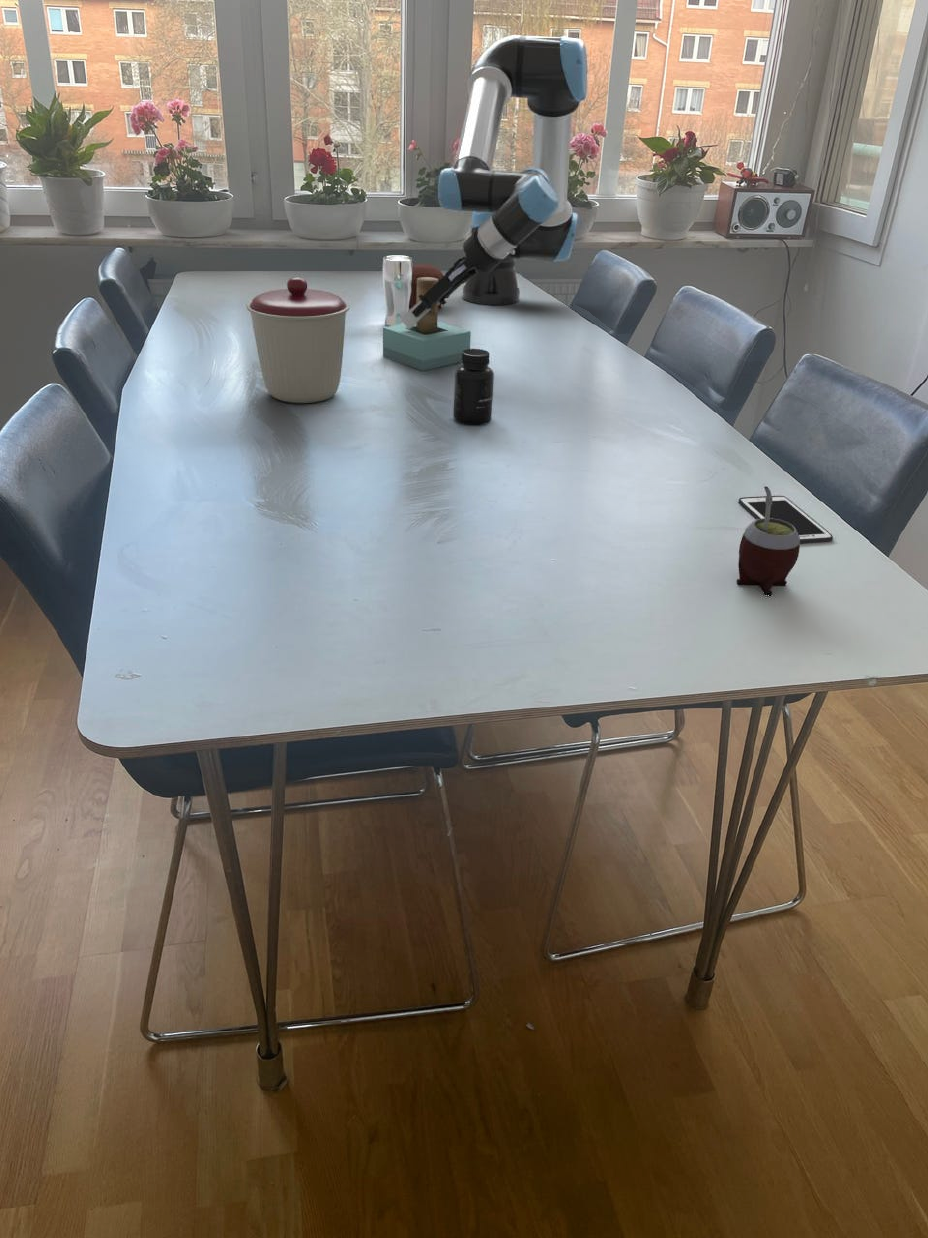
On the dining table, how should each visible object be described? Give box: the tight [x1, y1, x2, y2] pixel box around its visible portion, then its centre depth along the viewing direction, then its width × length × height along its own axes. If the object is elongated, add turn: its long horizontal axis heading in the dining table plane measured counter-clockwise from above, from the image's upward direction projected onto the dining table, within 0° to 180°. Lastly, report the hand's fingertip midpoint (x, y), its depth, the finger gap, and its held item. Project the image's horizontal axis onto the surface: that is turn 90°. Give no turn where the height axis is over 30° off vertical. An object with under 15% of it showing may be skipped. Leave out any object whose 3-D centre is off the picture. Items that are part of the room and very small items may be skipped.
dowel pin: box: [416, 277, 439, 335], centre depth 195 cm, size 4×4×12 cm
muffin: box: [409, 263, 445, 310], centre depth 237 cm, size 12×11×10 cm
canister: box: [245, 276, 350, 404], centre depth 170 cm, size 18×18×21 cm
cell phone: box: [737, 495, 834, 545], centre depth 136 cm, size 8×15×1 cm, turn 12°
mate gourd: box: [736, 485, 801, 597], centre depth 115 cm, size 8×8×15 cm
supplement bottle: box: [452, 348, 495, 426], centre depth 165 cm, size 7×7×12 cm
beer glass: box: [381, 254, 413, 327], centre depth 219 cm, size 7×7×15 cm
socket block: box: [382, 320, 472, 372], centre depth 198 cm, size 13×13×6 cm
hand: (410, 321), depth 197 cm, fingers closed on dowel pin, 4 cm apart
